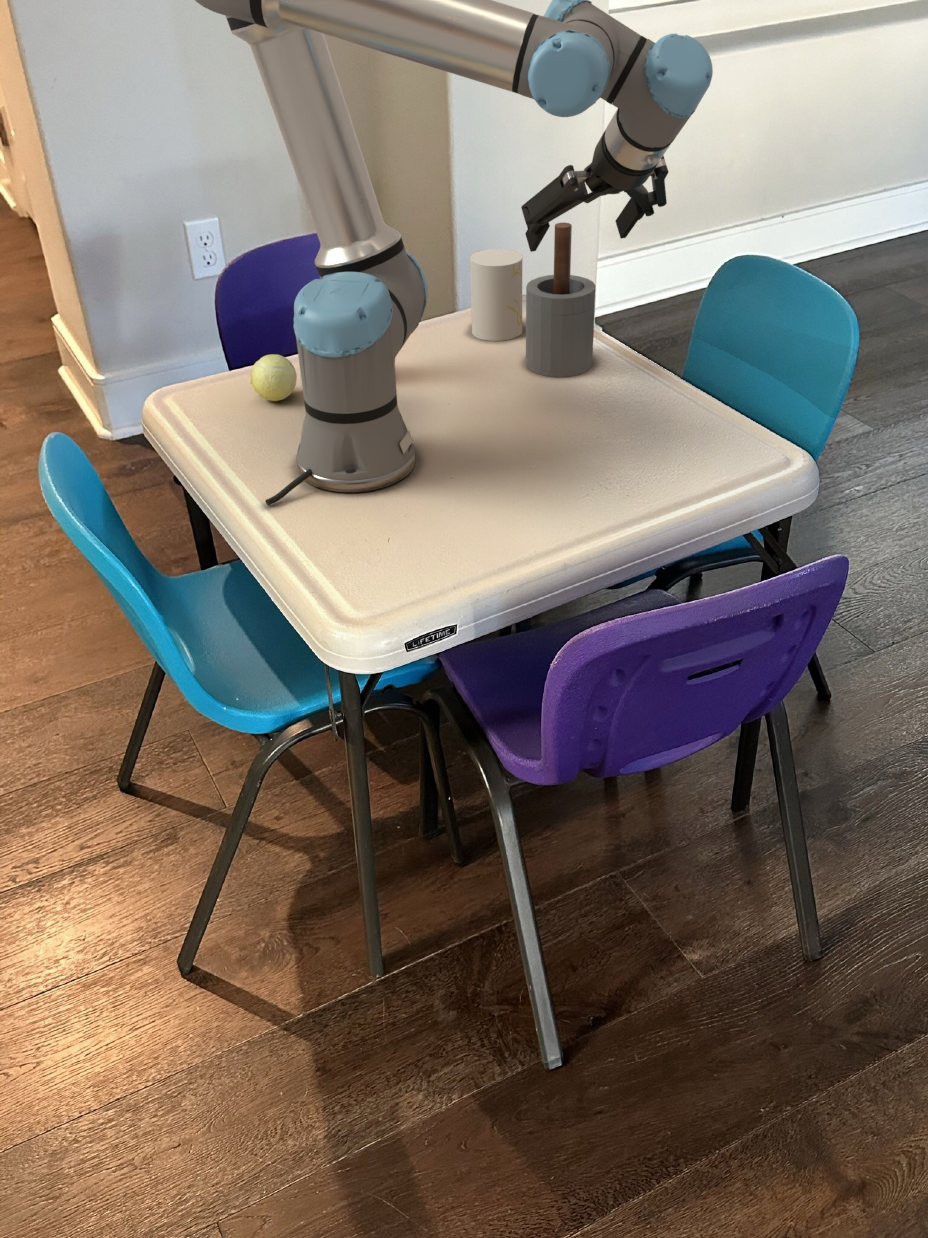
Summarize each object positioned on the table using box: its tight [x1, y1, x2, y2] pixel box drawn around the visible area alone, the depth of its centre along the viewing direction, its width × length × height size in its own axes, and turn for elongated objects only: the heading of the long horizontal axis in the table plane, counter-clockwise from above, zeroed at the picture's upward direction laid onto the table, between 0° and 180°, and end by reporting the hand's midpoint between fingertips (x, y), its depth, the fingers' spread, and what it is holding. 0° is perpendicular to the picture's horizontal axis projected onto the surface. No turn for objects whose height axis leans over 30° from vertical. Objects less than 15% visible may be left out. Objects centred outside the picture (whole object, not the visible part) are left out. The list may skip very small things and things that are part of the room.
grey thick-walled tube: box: [525, 274, 597, 378], centre depth 168 cm, size 10×10×12 cm
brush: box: [553, 222, 573, 295], centre depth 165 cm, size 5×5×20 cm
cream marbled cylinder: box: [469, 248, 523, 342], centre depth 179 cm, size 8×8×12 cm
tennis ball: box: [249, 353, 298, 402], centre depth 162 cm, size 6×7×7 cm
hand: (575, 235), depth 155 cm, fingers open, 13 cm apart
